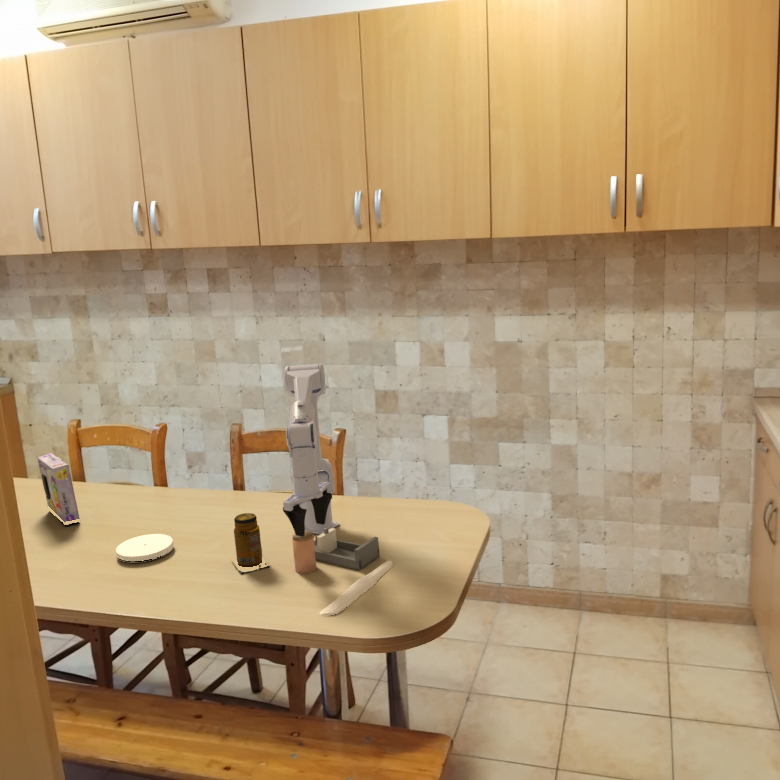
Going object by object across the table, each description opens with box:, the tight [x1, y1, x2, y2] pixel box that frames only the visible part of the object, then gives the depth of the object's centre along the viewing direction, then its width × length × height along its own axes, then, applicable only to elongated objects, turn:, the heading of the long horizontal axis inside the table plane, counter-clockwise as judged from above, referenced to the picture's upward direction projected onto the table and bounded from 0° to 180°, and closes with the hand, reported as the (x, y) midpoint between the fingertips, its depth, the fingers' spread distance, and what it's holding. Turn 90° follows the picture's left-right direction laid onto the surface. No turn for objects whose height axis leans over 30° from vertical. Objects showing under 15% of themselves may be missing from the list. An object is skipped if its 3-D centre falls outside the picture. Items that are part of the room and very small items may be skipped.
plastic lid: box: [115, 533, 175, 562], centre depth 202 cm, size 14×14×2 cm
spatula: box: [319, 560, 394, 616], centre depth 175 cm, size 28×4×2 cm, turn 149°
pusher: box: [317, 528, 337, 553], centre depth 194 cm, size 1×6×6 cm, turn 146°
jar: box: [291, 531, 317, 575], centre depth 186 cm, size 5×5×9 cm
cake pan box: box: [37, 452, 81, 522], centre depth 231 cm, size 19×5×18 cm, turn 36°
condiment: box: [233, 512, 269, 567], centre depth 190 cm, size 7×8×12 cm
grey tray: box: [314, 534, 381, 571], centre depth 192 cm, size 19×8×5 cm, turn 56°
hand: (310, 529), depth 185 cm, fingers open, 7 cm apart
